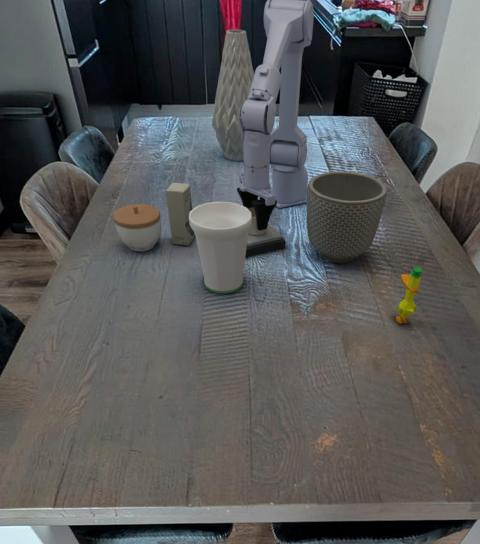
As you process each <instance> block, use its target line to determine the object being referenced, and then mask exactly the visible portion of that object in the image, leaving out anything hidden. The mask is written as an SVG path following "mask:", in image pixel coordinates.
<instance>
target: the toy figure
mask: <svg viewBox="0 0 480 544" xmlns="http://www.w3.org/2000/svg"><path fill="white" fill-rule="evenodd" d="M422 271H423V269H422V268H421V267H419V266H415V267H413V269H412V270H411V271H410V273H409V274H408V273H403V274H401V277H400V280H401V282H402V284H403V286H404V288H406V289H405V296H404V299H402V300H401V301H400V302H399V305H398V307H397V308H396V309H397V312H398V314H399V315H397V316H395V321H396V322H397V323H399V324H400V325H401V324H407V323H408V321H407V319H408V318H409V317H410V316H412V315H413V314H414V312H415V311H416V310H417V308H418V306H417V304H415V301H414V298H415V296H416V294H417V293H418V292H419V291H420V283H421V279H422V277H423V274H422Z"/></svg>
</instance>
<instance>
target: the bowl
mask: <svg viewBox="0 0 480 544" xmlns="http://www.w3.org/2000/svg"><path fill="white" fill-rule="evenodd" d="M248 210H249V211H250V212H251V217H252V221H251V228H250V229H249V231H248V234H250V235H254V236H258V235H262V234H264V233H265V232H266V231H267V229H265V230H260V231H259V230H258V228H257V222H256V214H255V210H254V207H251V208H248Z"/></svg>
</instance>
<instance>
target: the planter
mask: <svg viewBox="0 0 480 544" xmlns="http://www.w3.org/2000/svg"><path fill="white" fill-rule="evenodd" d="M387 194H388V189H387V186H386V185H385V183H383V181H381V180H380V179H378V178H376V177H374V176H372V175H368V174H365V173H360V172H356V171H343V170H342V171H341V170H340V171H339V170H338V171H327V172H323V173H319V174H317V175H315V176H313V177H311V179H309V180H308V187H307V203H306V232H307V236H308V237H307V239H308V242H309V243H310V245H311V247H312V248H313V249H314V250H315V251H317V252H318V253H319V255H320V256H321V258H323V259H324V260H325V261H327V262H330V263H333V264H334V263H336V264H346V263H349V262H352V261H354V260H355V258H357V257H358V256H360V255H362V254H364V253H365V252H366V251H367V250H369V249H370V247H371V245H372V244H373V242H374V240H375V237H376V235H377V231H378V228H379V225H380V222H381V219H382V216H383V211H384V207H385V204H386V200H387V196H388V195H387Z"/></svg>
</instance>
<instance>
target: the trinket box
mask: <svg viewBox="0 0 480 544" xmlns="http://www.w3.org/2000/svg"><path fill="white" fill-rule="evenodd" d="M112 220H113V223H114V227H115V229H116V233H117V235H118V237H119V239H120V241H121V242H122V243H123V244H124V245H126V246H127V247H128V248H129V249H130V250H132V251H135V252H146V251H149V250H152V249H153V248H154V247H155V246H156V244H157V243H158V241H159V239H160V238H161V233H162V222H161V211H160V210H159V209H158V208H157V207H155V206H154V205H150V204H145V203H135V204H128V205H127V204H126V205H125V206H121V207H119V208H117V209H115V211H114V212H113V214H112Z"/></svg>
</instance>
